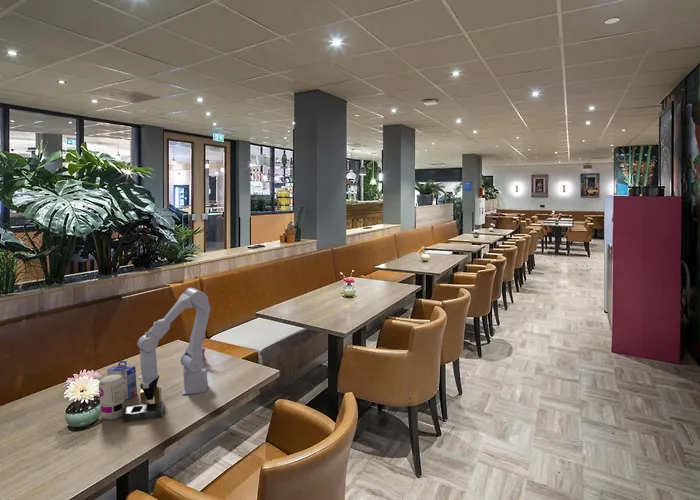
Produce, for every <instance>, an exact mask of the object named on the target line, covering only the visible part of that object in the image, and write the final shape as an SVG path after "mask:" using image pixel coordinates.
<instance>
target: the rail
mask: <svg viewBox="0 0 700 500" xmlns="http://www.w3.org/2000/svg"><path fill="white" fill-rule="evenodd" d="M164 412H165V402H163V401H162V402H161V403H155V402H154V403H147V404H145V405H141V404H138V405H130V406H129V405H128V406H126V410H125V412H124V414H123V415H122V419H123V423H127V422H128V423H130V422H138V421H144V420H152V419H153V420H155V419H161V418H163V414H164Z"/></svg>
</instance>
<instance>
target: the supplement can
mask: <svg viewBox="0 0 700 500" xmlns="http://www.w3.org/2000/svg"><path fill="white" fill-rule="evenodd" d="M98 392H99V404H100V405H99V406H100V415H101V418H102V419H104V420H105V421H106V420H107V421H112V420H117V419H119V418H121V417H123V414H124V412H125V410H126V408H127V406H126V399H125V390H124V379H123V377H122V376H121V375H120V374H111V375H105V376H103V377H100V381H99V382H98Z"/></svg>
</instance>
